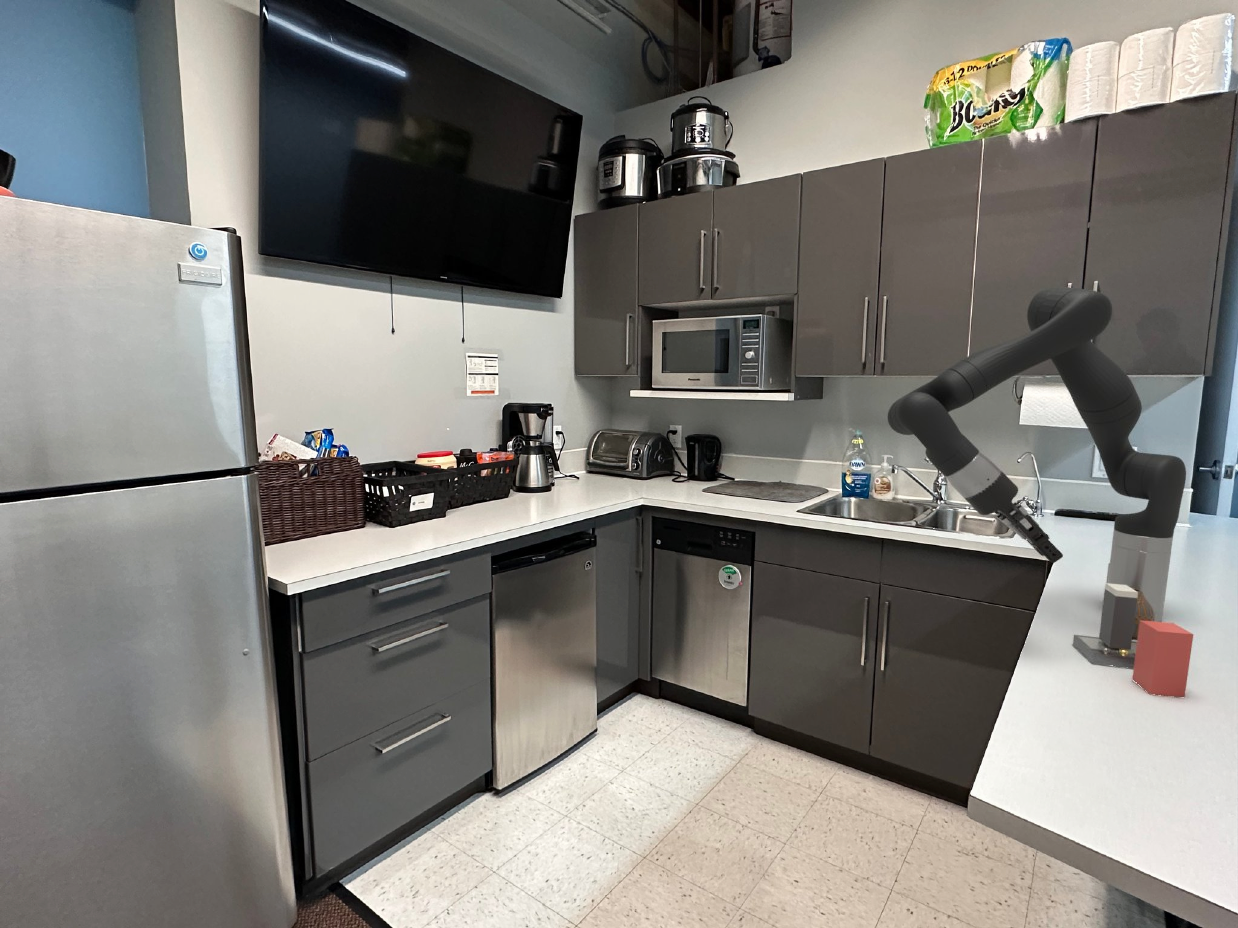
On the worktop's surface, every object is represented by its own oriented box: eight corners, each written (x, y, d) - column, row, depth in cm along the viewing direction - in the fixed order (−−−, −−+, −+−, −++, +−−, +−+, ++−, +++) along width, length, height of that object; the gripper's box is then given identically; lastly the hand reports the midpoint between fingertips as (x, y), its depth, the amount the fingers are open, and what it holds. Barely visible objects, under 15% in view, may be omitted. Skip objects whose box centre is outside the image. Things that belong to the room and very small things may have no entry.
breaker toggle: (1109, 647, 105) (1116, 590, 103) (1098, 638, 109) (1105, 583, 107) (1130, 649, 104) (1137, 592, 103) (1119, 640, 108) (1126, 584, 106)
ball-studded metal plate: (1092, 663, 104) (1095, 635, 103) (1072, 645, 112) (1075, 618, 111) (1186, 675, 100) (1190, 645, 100) (1159, 655, 108) (1163, 627, 107)
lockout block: (1132, 680, 98) (1139, 620, 97) (1164, 684, 97) (1173, 622, 96) (1149, 694, 94) (1158, 631, 93) (1184, 698, 93) (1193, 634, 92)
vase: (1130, 627, 121) (1135, 583, 120) (1162, 641, 114) (1168, 595, 113) (1095, 627, 121) (1101, 583, 119) (1125, 641, 114) (1131, 595, 113)
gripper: (1011, 473, 101) (1090, 552, 99) (987, 463, 115) (1056, 533, 113) (972, 503, 104) (1048, 581, 102) (953, 489, 117) (1020, 558, 115)
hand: (1052, 555), depth 107 cm, fingers open, 4 cm apart
